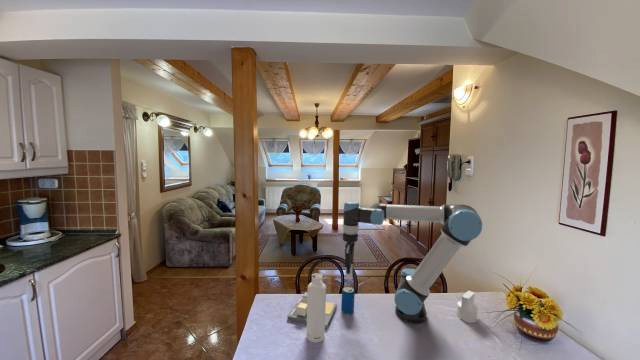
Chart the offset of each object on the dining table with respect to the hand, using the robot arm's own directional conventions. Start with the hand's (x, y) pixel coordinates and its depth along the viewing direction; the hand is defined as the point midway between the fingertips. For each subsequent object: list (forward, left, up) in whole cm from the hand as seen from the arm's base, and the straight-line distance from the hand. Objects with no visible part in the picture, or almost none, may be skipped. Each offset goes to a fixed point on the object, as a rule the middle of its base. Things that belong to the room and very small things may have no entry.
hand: (348, 277), depth 132 cm
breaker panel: (+16, +8, -18) cm, 26 cm away
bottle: (+10, +23, -19) cm, 31 cm away
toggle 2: (+21, +3, -16) cm, 27 cm away
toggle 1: (+20, +13, -16) cm, 28 cm away
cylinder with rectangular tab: (-58, -17, -19) cm, 63 cm away
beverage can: (0, 0, -19) cm, 19 cm away
